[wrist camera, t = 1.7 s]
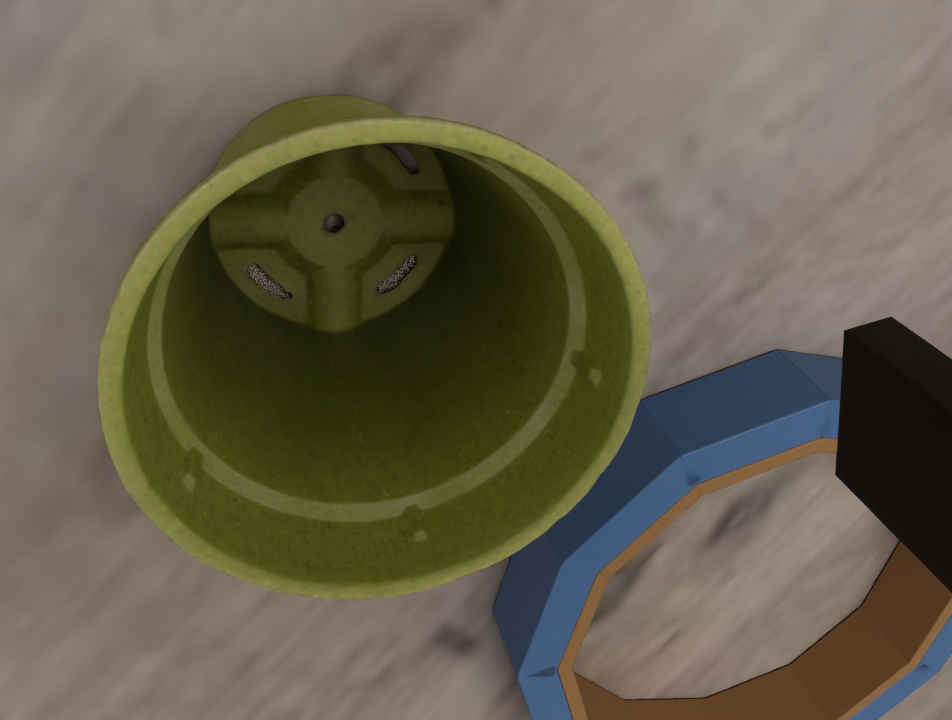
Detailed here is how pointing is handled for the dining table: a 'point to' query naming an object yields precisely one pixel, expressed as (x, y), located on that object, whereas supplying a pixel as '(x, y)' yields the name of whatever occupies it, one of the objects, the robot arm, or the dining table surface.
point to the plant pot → (371, 354)
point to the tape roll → (663, 500)
